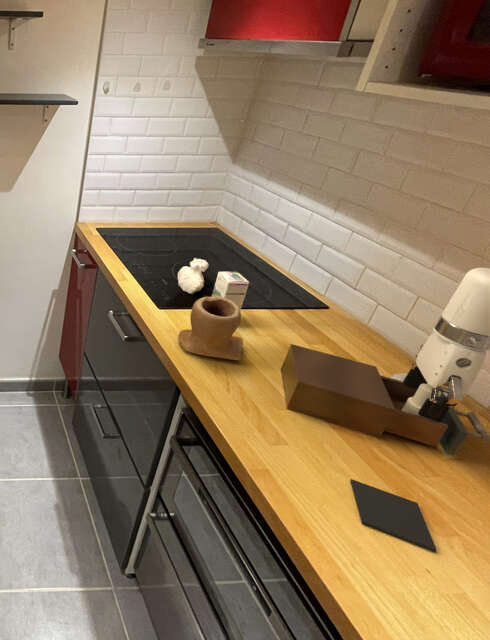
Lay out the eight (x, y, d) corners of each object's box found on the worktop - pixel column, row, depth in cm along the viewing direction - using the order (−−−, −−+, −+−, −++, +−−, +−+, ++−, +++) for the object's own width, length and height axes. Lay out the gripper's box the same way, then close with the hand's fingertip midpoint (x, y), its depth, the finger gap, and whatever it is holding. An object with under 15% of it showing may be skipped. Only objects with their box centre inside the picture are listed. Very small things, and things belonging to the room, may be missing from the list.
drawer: (460, 419, 93) (474, 398, 91) (490, 467, 82) (506, 445, 80) (344, 385, 102) (353, 365, 99) (357, 425, 91) (368, 404, 89)
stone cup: (180, 359, 110) (195, 308, 104) (175, 332, 121) (188, 284, 115) (249, 373, 106) (269, 321, 100) (238, 344, 116) (254, 295, 110)
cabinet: (362, 393, 101) (376, 366, 98) (379, 438, 89) (395, 409, 86) (280, 369, 108) (290, 343, 105) (286, 408, 96) (298, 381, 93)
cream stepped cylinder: (422, 416, 92) (440, 386, 89) (429, 429, 89) (448, 398, 86) (397, 408, 94) (414, 379, 91) (403, 421, 91) (420, 391, 87)
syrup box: (236, 327, 123) (251, 281, 117) (214, 326, 124) (228, 281, 118) (225, 315, 129) (239, 271, 123) (205, 315, 129) (217, 270, 123)
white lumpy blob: (196, 304, 138) (226, 279, 134) (180, 290, 136) (210, 265, 133) (180, 284, 149) (207, 261, 145) (165, 271, 147) (192, 248, 144)
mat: (415, 505, 76) (417, 502, 76) (435, 552, 69) (436, 550, 69) (349, 481, 80) (351, 478, 80) (361, 523, 73) (363, 521, 73)
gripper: (516, 366, 74) (463, 439, 81) (472, 315, 88) (429, 382, 95) (455, 351, 77) (409, 422, 85) (421, 304, 91) (384, 369, 98)
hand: (420, 401), depth 90 cm, fingers open, 9 cm apart
